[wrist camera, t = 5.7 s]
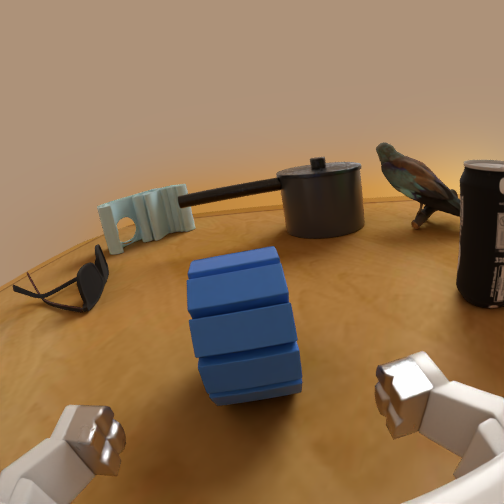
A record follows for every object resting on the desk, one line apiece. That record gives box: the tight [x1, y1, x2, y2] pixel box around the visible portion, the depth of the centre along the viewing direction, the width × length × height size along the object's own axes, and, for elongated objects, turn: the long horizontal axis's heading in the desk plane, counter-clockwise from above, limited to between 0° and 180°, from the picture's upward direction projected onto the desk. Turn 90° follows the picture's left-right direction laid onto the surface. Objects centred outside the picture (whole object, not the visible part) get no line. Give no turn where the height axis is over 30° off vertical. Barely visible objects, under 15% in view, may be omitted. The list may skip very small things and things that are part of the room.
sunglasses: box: [13, 244, 109, 313], centre depth 41 cm, size 17×14×5 cm
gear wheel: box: [187, 246, 302, 406], centre depth 19 cm, size 5×9×9 cm, turn 4°
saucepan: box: [178, 157, 364, 238], centre depth 50 cm, size 29×14×11 cm, turn 94°
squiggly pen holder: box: [97, 184, 195, 255], centre depth 63 cm, size 18×10×9 cm, turn 128°
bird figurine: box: [376, 143, 460, 229], centre depth 43 cm, size 13×10×20 cm
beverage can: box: [456, 160, 504, 308], centre depth 22 cm, size 7×7×12 cm
